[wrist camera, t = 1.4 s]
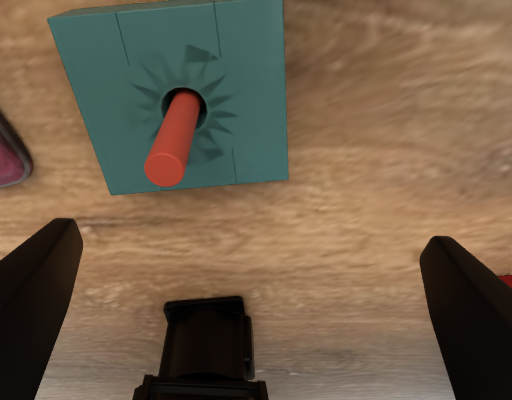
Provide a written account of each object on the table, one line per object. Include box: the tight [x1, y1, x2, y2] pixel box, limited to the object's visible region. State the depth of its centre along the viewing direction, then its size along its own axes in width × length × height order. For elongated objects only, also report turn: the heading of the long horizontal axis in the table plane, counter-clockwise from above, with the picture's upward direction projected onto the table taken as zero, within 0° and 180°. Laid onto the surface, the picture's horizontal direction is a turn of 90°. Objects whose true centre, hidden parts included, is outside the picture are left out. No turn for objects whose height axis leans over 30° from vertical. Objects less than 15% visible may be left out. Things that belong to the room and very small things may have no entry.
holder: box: [47, 0, 289, 195], centre depth 19 cm, size 10×9×3 cm
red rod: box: [144, 87, 202, 187], centre depth 17 cm, size 1×1×9 cm
